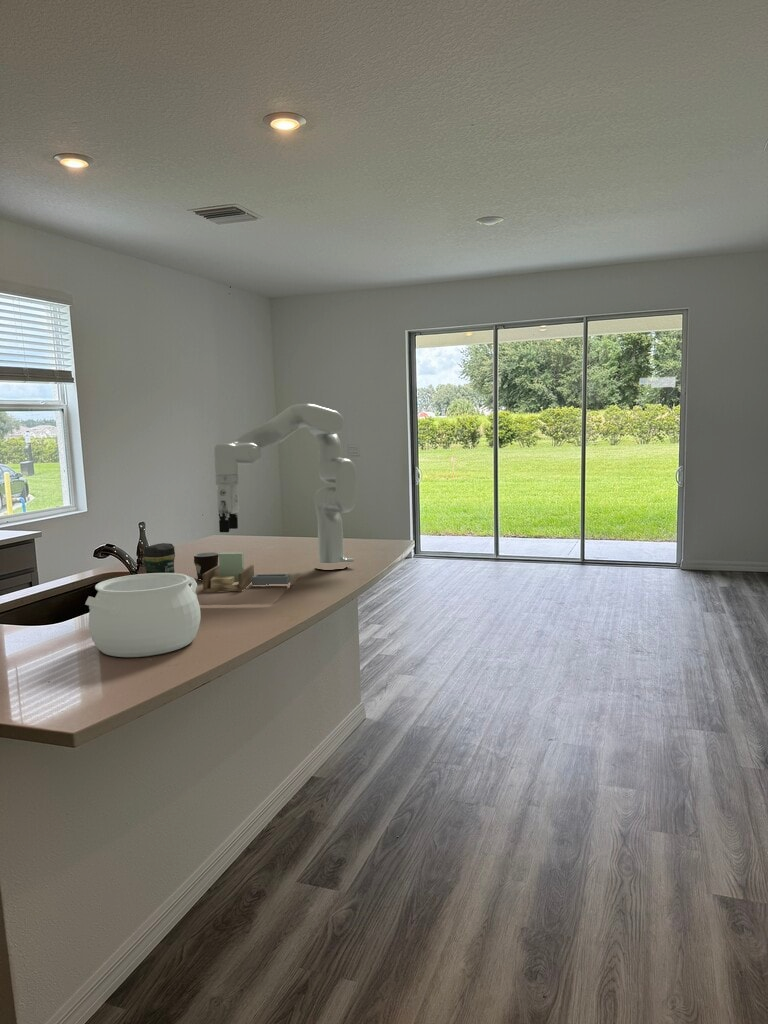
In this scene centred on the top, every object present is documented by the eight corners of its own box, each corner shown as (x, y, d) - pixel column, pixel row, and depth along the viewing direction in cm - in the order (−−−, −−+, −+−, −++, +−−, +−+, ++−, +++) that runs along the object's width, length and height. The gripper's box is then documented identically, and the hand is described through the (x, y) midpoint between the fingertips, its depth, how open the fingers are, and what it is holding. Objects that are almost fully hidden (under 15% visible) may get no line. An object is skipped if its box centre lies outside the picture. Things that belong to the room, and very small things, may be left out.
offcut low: (241, 587, 235) (241, 582, 234) (237, 590, 230) (237, 584, 230) (215, 588, 235) (214, 582, 235) (210, 591, 231) (210, 585, 231)
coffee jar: (162, 606, 216) (158, 546, 214) (141, 604, 219) (138, 545, 217) (182, 598, 225) (178, 542, 223) (162, 597, 228) (159, 541, 226)
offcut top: (234, 581, 235) (234, 576, 235) (232, 584, 230) (231, 578, 230) (214, 582, 235) (213, 576, 235) (210, 585, 230) (210, 579, 230)
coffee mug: (221, 582, 249) (220, 555, 248) (196, 585, 245) (195, 557, 244) (216, 577, 259) (215, 550, 258) (193, 579, 256) (191, 552, 255)
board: (244, 584, 240) (243, 552, 239) (243, 585, 238) (241, 553, 237) (222, 584, 241) (220, 552, 240) (220, 585, 239) (218, 553, 238)
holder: (291, 586, 240) (290, 573, 239) (287, 590, 234) (286, 577, 233) (256, 586, 241) (256, 573, 240) (252, 590, 235) (251, 577, 234)
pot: (168, 624, 195) (164, 566, 193) (228, 639, 178) (224, 577, 176) (64, 650, 172) (59, 586, 171) (121, 671, 156) (116, 600, 154)
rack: (254, 585, 243) (253, 565, 243) (242, 594, 228) (241, 573, 228) (218, 585, 244) (217, 565, 244) (203, 595, 230) (202, 574, 229)
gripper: (230, 481, 227) (232, 533, 229) (245, 478, 244) (246, 527, 246) (207, 481, 228) (209, 533, 229) (224, 478, 245) (225, 527, 246)
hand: (228, 530), depth 238 cm, fingers open, 9 cm apart
